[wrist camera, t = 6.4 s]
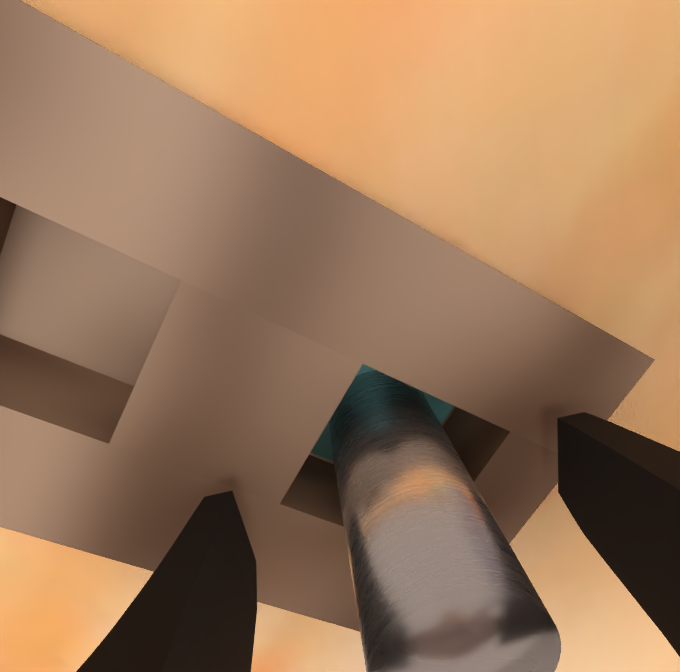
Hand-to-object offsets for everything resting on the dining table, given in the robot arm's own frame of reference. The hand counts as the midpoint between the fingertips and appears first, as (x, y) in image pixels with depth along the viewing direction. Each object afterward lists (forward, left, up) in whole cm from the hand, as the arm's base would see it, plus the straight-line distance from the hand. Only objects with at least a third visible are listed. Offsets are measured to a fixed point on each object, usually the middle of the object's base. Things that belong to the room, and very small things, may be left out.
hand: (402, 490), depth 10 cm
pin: (0, 0, -3) cm, 3 cm away
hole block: (+4, 0, -4) cm, 6 cm away
